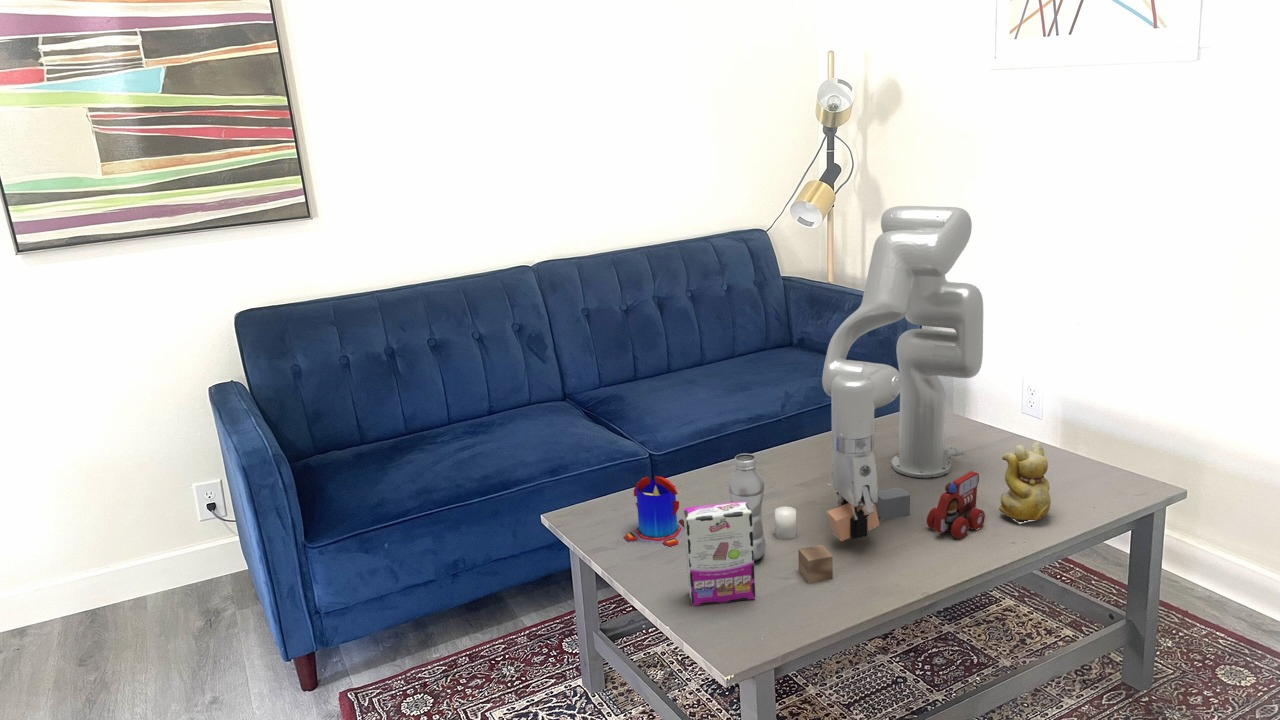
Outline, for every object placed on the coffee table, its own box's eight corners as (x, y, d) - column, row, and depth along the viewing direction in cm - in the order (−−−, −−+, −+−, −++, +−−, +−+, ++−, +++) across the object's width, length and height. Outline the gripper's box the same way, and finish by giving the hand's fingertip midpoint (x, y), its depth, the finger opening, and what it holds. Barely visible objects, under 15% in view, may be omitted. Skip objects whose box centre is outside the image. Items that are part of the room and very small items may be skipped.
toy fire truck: (919, 533, 176) (921, 483, 173) (958, 512, 183) (960, 464, 180) (951, 545, 170) (953, 494, 167) (989, 524, 177) (992, 474, 174)
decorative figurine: (1028, 504, 184) (1032, 434, 180) (1062, 520, 177) (1067, 447, 173) (992, 516, 180) (995, 444, 176) (1025, 532, 173) (1030, 458, 169)
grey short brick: (899, 507, 187) (900, 487, 185) (909, 515, 183) (910, 495, 182) (872, 512, 185) (873, 491, 184) (882, 520, 182) (882, 499, 180)
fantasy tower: (619, 541, 180) (615, 485, 176) (641, 515, 190) (638, 461, 187) (676, 549, 175) (673, 491, 172) (695, 522, 186) (693, 467, 182)
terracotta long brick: (869, 516, 175) (865, 496, 173) (879, 525, 171) (875, 505, 170) (831, 531, 174) (826, 511, 172) (841, 541, 170) (836, 520, 169)
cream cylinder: (791, 528, 181) (791, 505, 179) (799, 537, 177) (799, 513, 175) (772, 531, 180) (771, 508, 178) (780, 540, 176) (779, 517, 175)
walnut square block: (822, 567, 166) (821, 544, 164) (832, 579, 161) (832, 556, 160) (798, 571, 165) (798, 548, 163) (808, 583, 160) (808, 560, 159)
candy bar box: (749, 585, 161) (747, 499, 156) (756, 600, 156) (753, 512, 152) (686, 591, 160) (682, 506, 156) (691, 607, 155) (686, 519, 151)
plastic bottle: (728, 549, 174) (725, 451, 168) (764, 548, 173) (762, 449, 168) (730, 566, 168) (727, 465, 162) (768, 565, 167) (765, 463, 162)
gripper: (894, 454, 160) (893, 548, 166) (851, 422, 176) (851, 509, 181) (854, 461, 159) (855, 556, 164) (814, 428, 174) (815, 515, 180)
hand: (853, 530), depth 172 cm, fingers closed on terracotta long brick, 4 cm apart
